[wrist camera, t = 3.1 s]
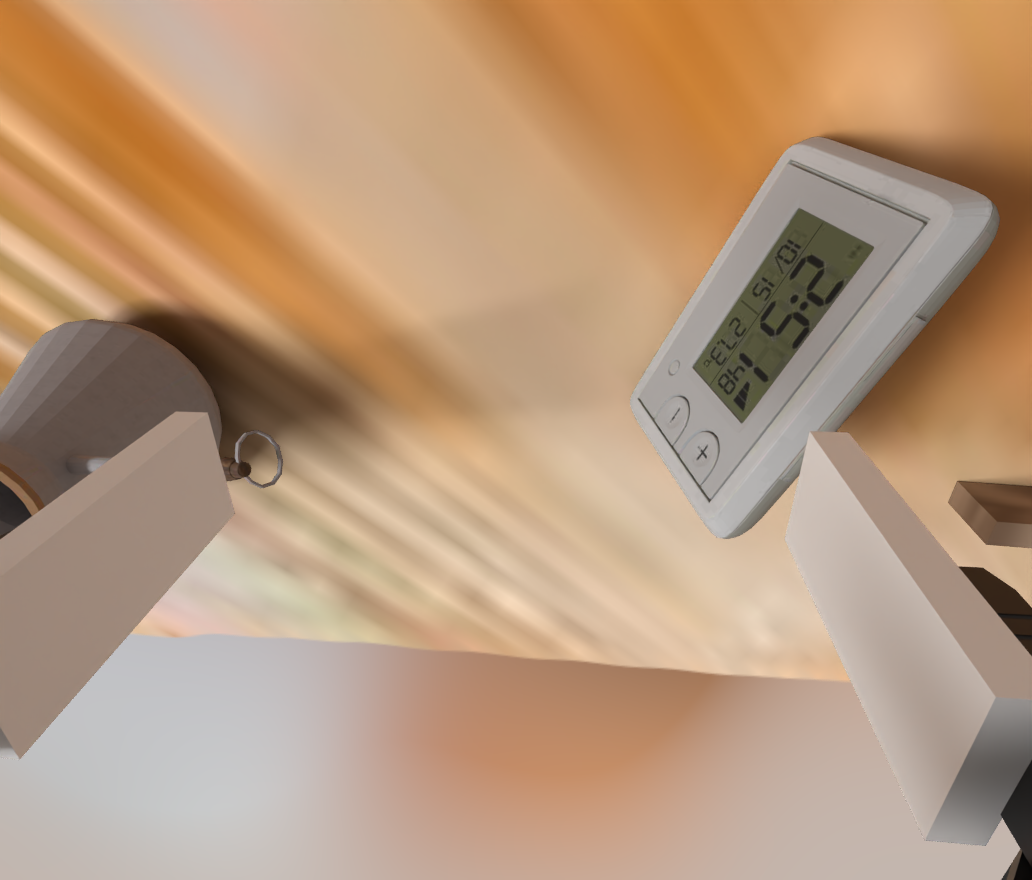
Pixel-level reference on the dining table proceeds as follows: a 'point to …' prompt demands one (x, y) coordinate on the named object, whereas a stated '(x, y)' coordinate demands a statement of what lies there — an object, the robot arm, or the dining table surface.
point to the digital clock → (802, 320)
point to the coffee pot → (93, 410)
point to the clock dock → (996, 512)
